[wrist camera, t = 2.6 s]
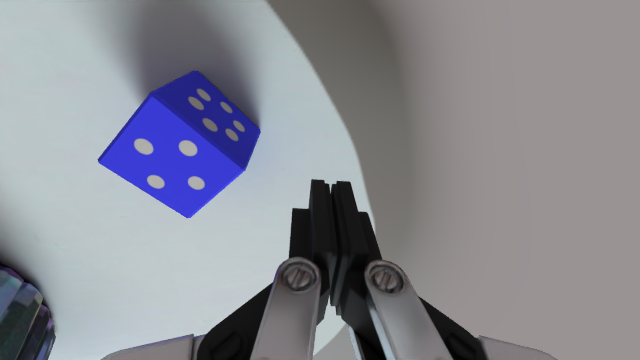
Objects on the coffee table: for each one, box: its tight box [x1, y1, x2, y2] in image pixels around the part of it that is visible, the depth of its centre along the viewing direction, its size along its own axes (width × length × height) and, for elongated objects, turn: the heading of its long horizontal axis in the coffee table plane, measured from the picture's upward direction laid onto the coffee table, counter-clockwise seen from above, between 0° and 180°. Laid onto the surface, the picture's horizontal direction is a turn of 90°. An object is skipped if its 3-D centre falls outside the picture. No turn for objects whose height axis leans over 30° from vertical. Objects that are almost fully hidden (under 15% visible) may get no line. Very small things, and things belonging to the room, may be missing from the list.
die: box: [98, 71, 261, 218], centre depth 14 cm, size 5×5×5 cm
